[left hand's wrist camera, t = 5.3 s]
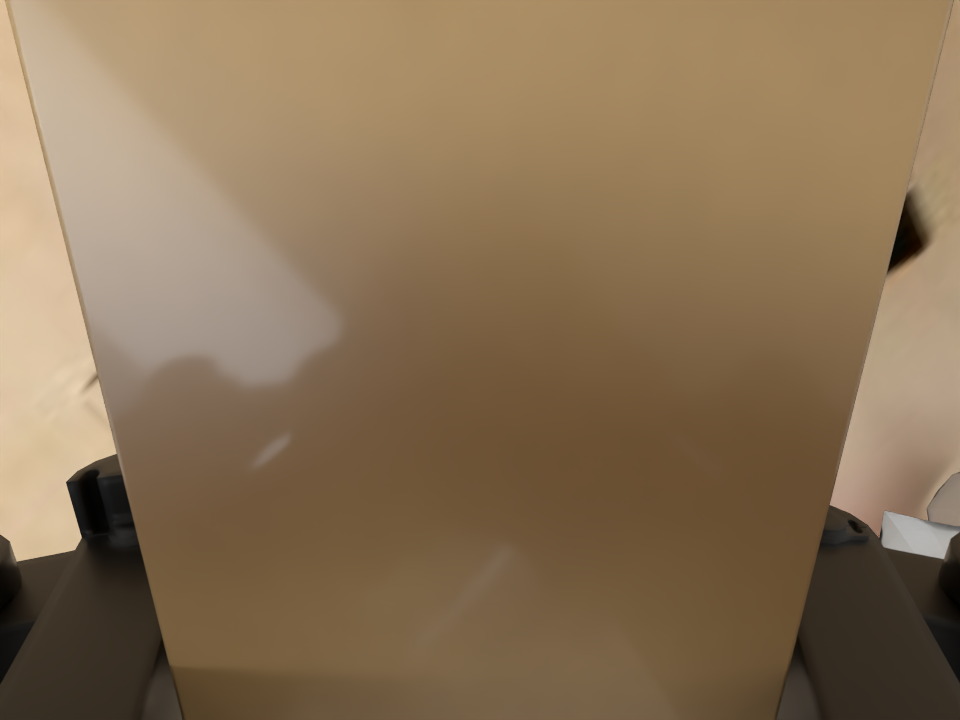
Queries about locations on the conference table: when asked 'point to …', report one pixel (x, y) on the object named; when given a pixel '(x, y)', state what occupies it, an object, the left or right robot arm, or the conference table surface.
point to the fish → (926, 524)
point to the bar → (479, 332)
